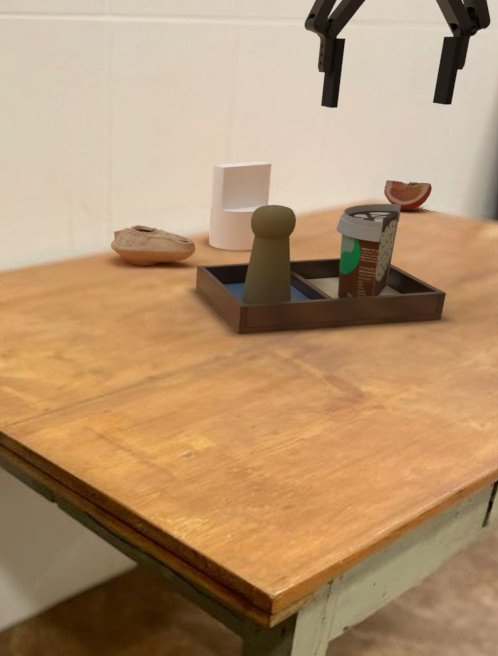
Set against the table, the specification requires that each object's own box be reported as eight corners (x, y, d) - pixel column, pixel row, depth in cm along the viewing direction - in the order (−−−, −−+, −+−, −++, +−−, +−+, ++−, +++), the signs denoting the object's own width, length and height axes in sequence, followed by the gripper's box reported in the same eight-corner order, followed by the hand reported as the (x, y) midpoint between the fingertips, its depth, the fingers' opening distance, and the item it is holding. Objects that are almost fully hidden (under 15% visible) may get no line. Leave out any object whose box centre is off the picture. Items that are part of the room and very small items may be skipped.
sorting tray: (371, 281, 111) (375, 255, 109) (440, 322, 96) (446, 293, 94) (195, 292, 107) (196, 265, 105) (238, 337, 92) (240, 306, 90)
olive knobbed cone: (280, 310, 97) (290, 213, 91) (233, 303, 99) (240, 208, 93) (298, 297, 101) (308, 204, 95) (252, 290, 104) (259, 199, 98)
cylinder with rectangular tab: (245, 237, 135) (251, 158, 128) (276, 248, 128) (284, 166, 121) (198, 242, 131) (201, 162, 125) (227, 254, 124) (233, 170, 118)
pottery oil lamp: (183, 273, 114) (161, 229, 110) (119, 289, 122) (96, 248, 118) (208, 239, 118) (188, 195, 114) (145, 256, 126) (123, 215, 122)
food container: (341, 279, 108) (351, 200, 103) (388, 285, 106) (401, 203, 100) (316, 304, 98) (327, 218, 93) (368, 311, 96) (381, 223, 91)
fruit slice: (376, 209, 153) (380, 181, 151) (390, 204, 158) (394, 176, 155) (419, 214, 149) (425, 185, 146) (432, 209, 154) (437, 180, 151)
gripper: (513, -128, 85) (469, 99, 96) (287, -133, 81) (268, 105, 92) (559, -141, 79) (506, 105, 90) (316, -147, 75) (293, 111, 86)
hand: (386, 105), depth 91 cm, fingers open, 13 cm apart
